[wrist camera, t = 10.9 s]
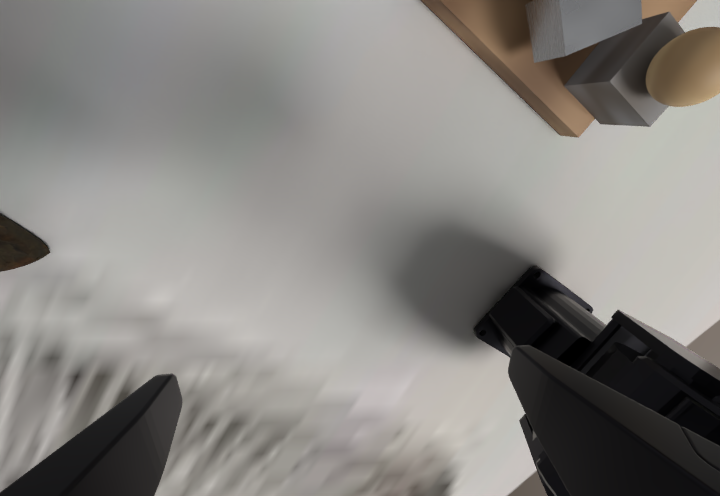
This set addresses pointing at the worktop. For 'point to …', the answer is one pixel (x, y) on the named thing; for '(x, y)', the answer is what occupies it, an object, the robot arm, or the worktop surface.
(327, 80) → the worktop surface
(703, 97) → the tan wooden panel
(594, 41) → the lever
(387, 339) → the worktop surface
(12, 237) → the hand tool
